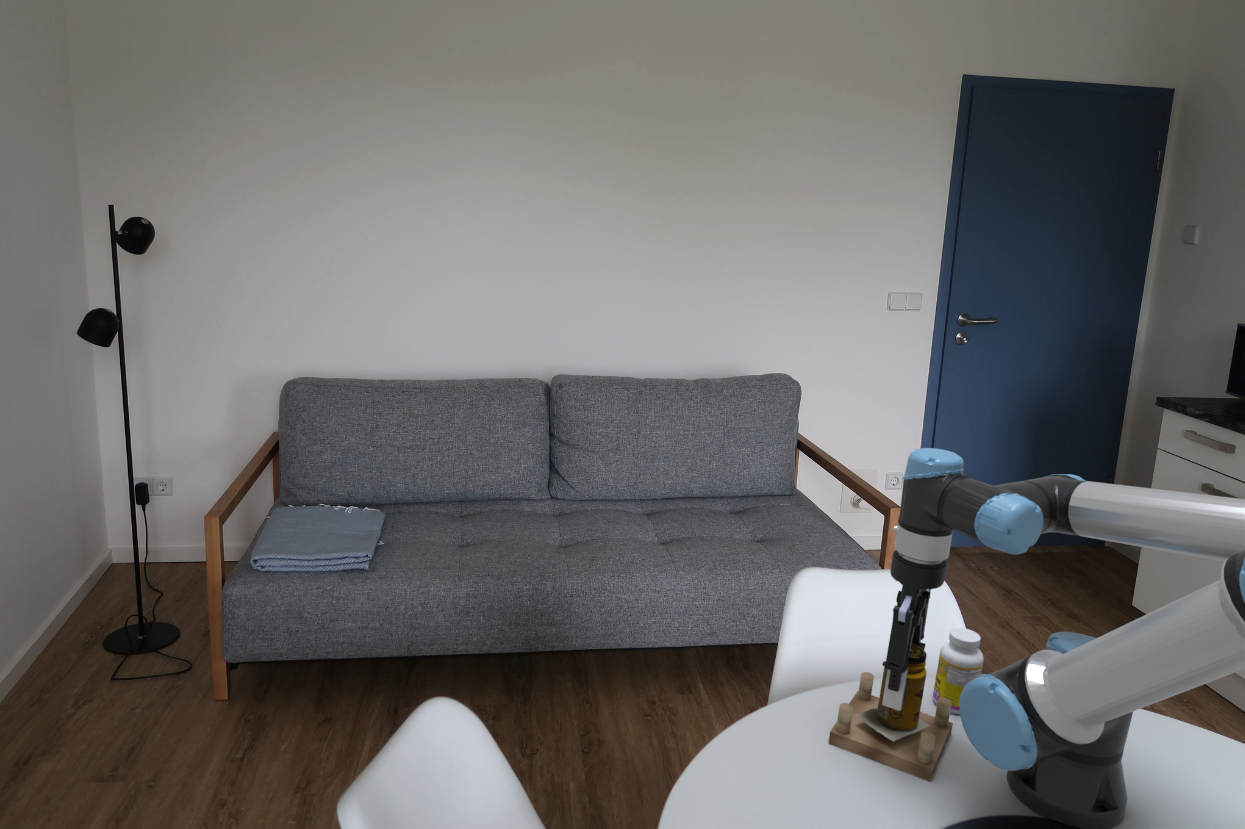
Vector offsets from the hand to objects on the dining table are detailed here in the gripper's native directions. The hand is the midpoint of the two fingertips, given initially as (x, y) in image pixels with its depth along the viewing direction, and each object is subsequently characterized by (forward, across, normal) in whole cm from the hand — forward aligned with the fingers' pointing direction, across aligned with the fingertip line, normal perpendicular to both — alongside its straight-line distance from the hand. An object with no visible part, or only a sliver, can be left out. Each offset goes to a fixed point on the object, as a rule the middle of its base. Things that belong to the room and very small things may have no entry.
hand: (897, 696), depth 134 cm
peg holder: (+7, 0, 0) cm, 7 cm away
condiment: (+4, +1, 0) cm, 4 cm away
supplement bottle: (+8, -16, +6) cm, 19 cm away
